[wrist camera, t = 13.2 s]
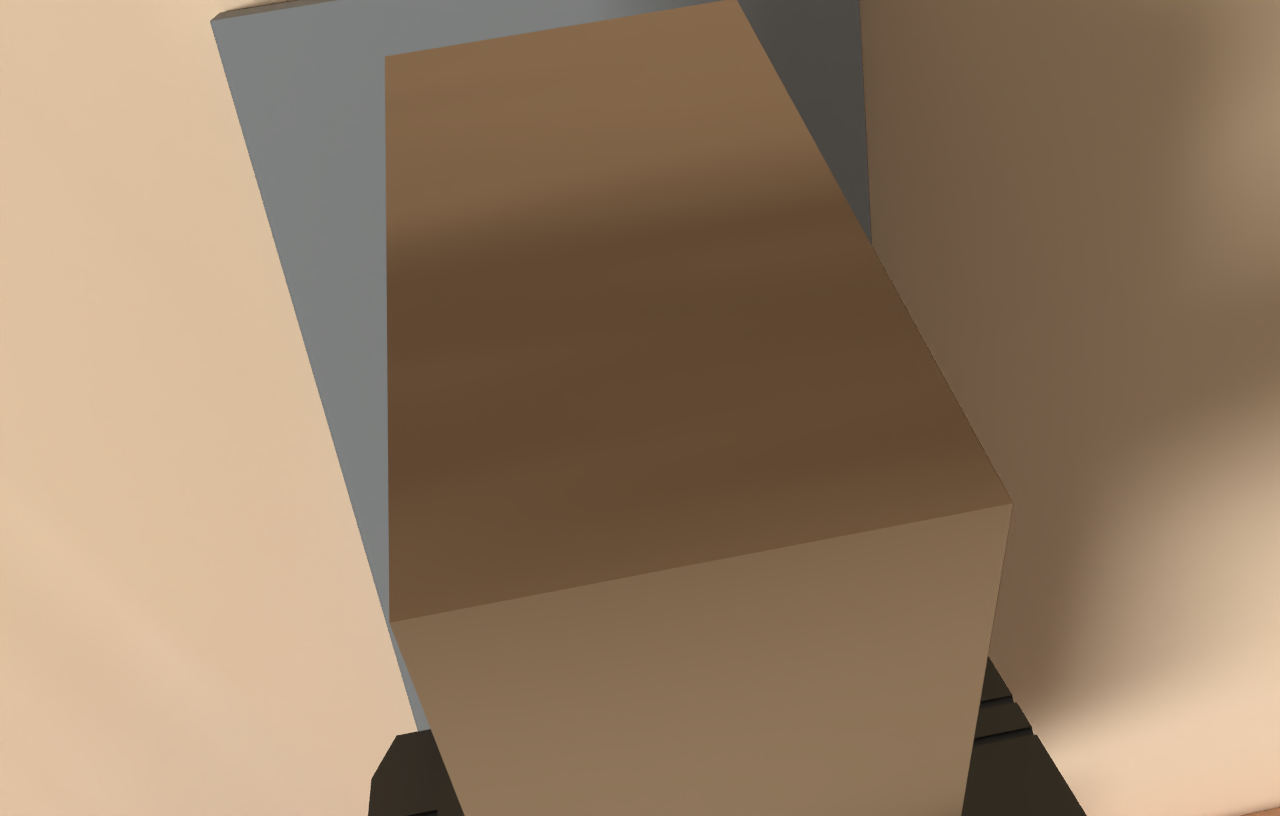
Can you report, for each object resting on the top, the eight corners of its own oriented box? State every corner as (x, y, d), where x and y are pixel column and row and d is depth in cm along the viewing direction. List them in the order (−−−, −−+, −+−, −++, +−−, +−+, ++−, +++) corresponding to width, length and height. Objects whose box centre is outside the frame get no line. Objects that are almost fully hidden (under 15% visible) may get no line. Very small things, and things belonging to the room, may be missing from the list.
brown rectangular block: (385, 56, 10) (387, 623, 6) (735, -2, 10) (1014, 504, 6) (575, 795, 18) (640, 1266, 14) (769, 756, 18) (895, 1208, 14)
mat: (219, 13, 13) (209, 20, 13) (839, -88, 13) (855, -85, 13) (474, 895, 19) (474, 925, 19) (890, 809, 20) (901, 837, 19)
